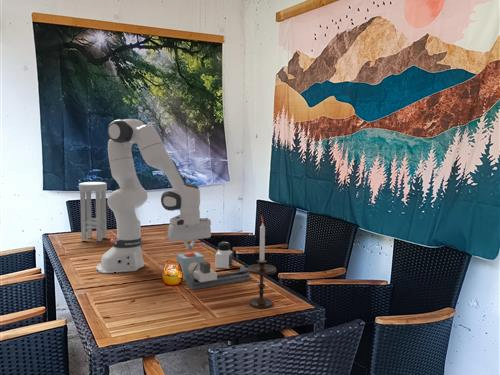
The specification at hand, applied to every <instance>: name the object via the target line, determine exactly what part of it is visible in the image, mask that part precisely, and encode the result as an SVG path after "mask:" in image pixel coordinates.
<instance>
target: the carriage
mask: <svg viewBox="0 0 500 375" xmlns="http://www.w3.org/2000/svg"><path fill="white" fill-rule="evenodd" d="M217 275H218V272H216V271H215V270H214V269H212V268H211V263H210V262H208V261H205V260H204V262H200V270H197V271H193V278H195V279H196V280H197V281H199V282H205V281H211V280H217Z"/></svg>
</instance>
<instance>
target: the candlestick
mask: <svg viewBox="0 0 500 375" xmlns="http://www.w3.org/2000/svg"><path fill="white" fill-rule="evenodd" d="M260 220H261V226H259V259H258V260H256V263H254V264H251V265H248V266H247V269H248V272H250V274H252V275H256V276H257V275H259V283H258V284H257V287H258V289H259V290H258V291H257V293H259V297H255V298H251V299H250V300H249V306H250V307H252V308H254V309H259V310H262V309H263V310H264V309H269V308H272V307H273V305H274V301H273V300H272V299H270V298H267V297H264V294H265V291H266V290H264V289H265V287H266V284H265V283H264V276H268V275H273V274H275V273H276V272H277V268H276V267H277V266H274V265H273V264H268V263H267V262H268V260H265V254H266V253H265V251H266V250H265V249H266V248H265V246H266V245H265V244H266V238H265V237H266V226H265V224H264V219H263V216H262V215H260Z"/></svg>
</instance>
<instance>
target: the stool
mask: <svg viewBox="0 0 500 375" xmlns="http://www.w3.org/2000/svg"><path fill="white" fill-rule="evenodd" d="M78 190H79V195H80V196H79V197H80V198H79V201H80V233H81V234H80V235H81V242H82V241H86V240H87V241H88V239H87V237H92V238H93V229H94V230H96V242H97V241H103V239H102V238H106V237H107V236H108V235H107V234H108V232H107V231H108V230H107V192H106V191H107V190H108V184H107V182H104V181H103V182H102V181H87V182H85V181H84V182H81V183H78ZM92 192H94V193H95V218H93V216H92V213H93V212H92ZM107 238H108V237H107ZM107 238H106V239H107ZM87 241H86V242H87Z"/></svg>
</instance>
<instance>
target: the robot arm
mask: <svg viewBox="0 0 500 375" xmlns="http://www.w3.org/2000/svg"><path fill="white" fill-rule="evenodd" d="M107 135H108V138H109V139H108V142H107V154H108V156H107V157H108V161H109V168H110V172H111V173H110V174H111V177H112V178H113V179H114V180H115V181H116V183H117V184H118V187H119V188H118V189H115V190H114V191H112V192H111V193H110V194H109V195H108V196H107V198H106V204H107V206H108V208H109V209H110V210H111V211H112V212H113V215H114V218H115V221H116V222H115V223H116V238H115V239H114V238H111V239H110V242H111V243H112V247H111V248H110V249H108V250H107V251H106V252H105V253H103V254H102V256H101V260H100V263H98V264H97V265H96V271H97V270H98V271H97V272H98V273H100V274H113V273H114V272H116V273H124V272H125V273H126V272H135V271H138V270H139V269H141V268H143V267H144V266H145V263H144V259H143V253H142V247H143V240H142V237H141V236H142V235H141V221H140V220H139V219H138V217H137V214H136V209H137V208H140V207H142V206H143V205H144V204H145V203H146V202H147V201H148V196H149V195H148V192H147V190H146V189H145V188H144V187H143V186H142V185H141V182H140V180H139V178H138V175H137V171H136V167H135V161H134V159H133V153H132V147H133V145H136V146H137V147H138V150H139V152H140V155H141V157H142V159H143V160H144V162H145V164H147V166H148V167H151V168H154V169H157V170H158V171H160V172H162V173H163V174H165V176H166V178H167V180H168V181H169V183H170V185H171V187H172V188H171V189H168V190H165V191H164V192H163V193H162V194H161V197H160V202H161V206H162V207H163V209H164V210H166V211H170V212H171V211H172V212H173V211H179V213H180V214H178V215H176V216H173V217H171V218H170V219H169V223H170V224H169V225H168V227H167V233H166V234H167V236H166V238H167V240H168V241H169V242H172V243H174V242H180V241H183V243H184V245H185V250H193V249H194V245H195V243H196V240H200V239H201V240H202V239H210V238H211V236H212V231H211V229H212V228H211V225H212V223H211V222H212V221H211V219H209V218H208V217H205V218H203V217H202V218H201V212H200V210H201V209H200V205H201V191H200V188H199V186H198V184H195V183H192V182H191V183H189V182H185V180H184V179H183V176H182V175H181V173H180V171H179V169H178V166H177V165H176V163H175V162H174V161H173V159H172V157H171V156H170V155H169V153H168V151H167V149H166V146H165V145H164V142H163V140H162V138H161V136H160V134H159V132H158V131H157V130H156V128H155V127H154V126H153V125H151V124H149V123H148V122H147V121H146V120H143V119H139V118H137V119H135V118H126V119H115V120H113V121H111V122H110V123H109V124H108V127H107ZM189 241H191V242H190V244H188V243H189ZM114 274H115V273H114Z"/></svg>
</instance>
